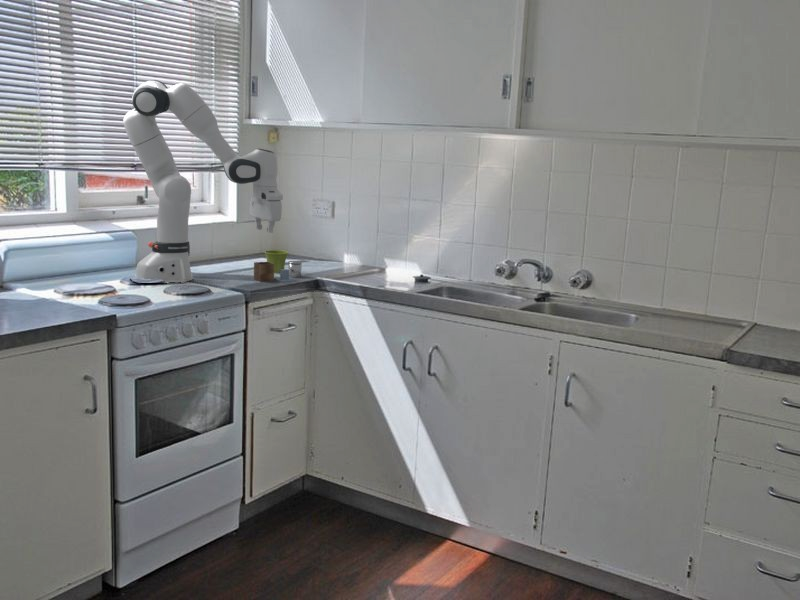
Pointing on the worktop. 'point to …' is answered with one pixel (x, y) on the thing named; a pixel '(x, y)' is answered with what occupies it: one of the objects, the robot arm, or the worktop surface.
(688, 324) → the worktop surface
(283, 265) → the plant pot
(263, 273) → the canister
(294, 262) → the tin
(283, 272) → the lid
